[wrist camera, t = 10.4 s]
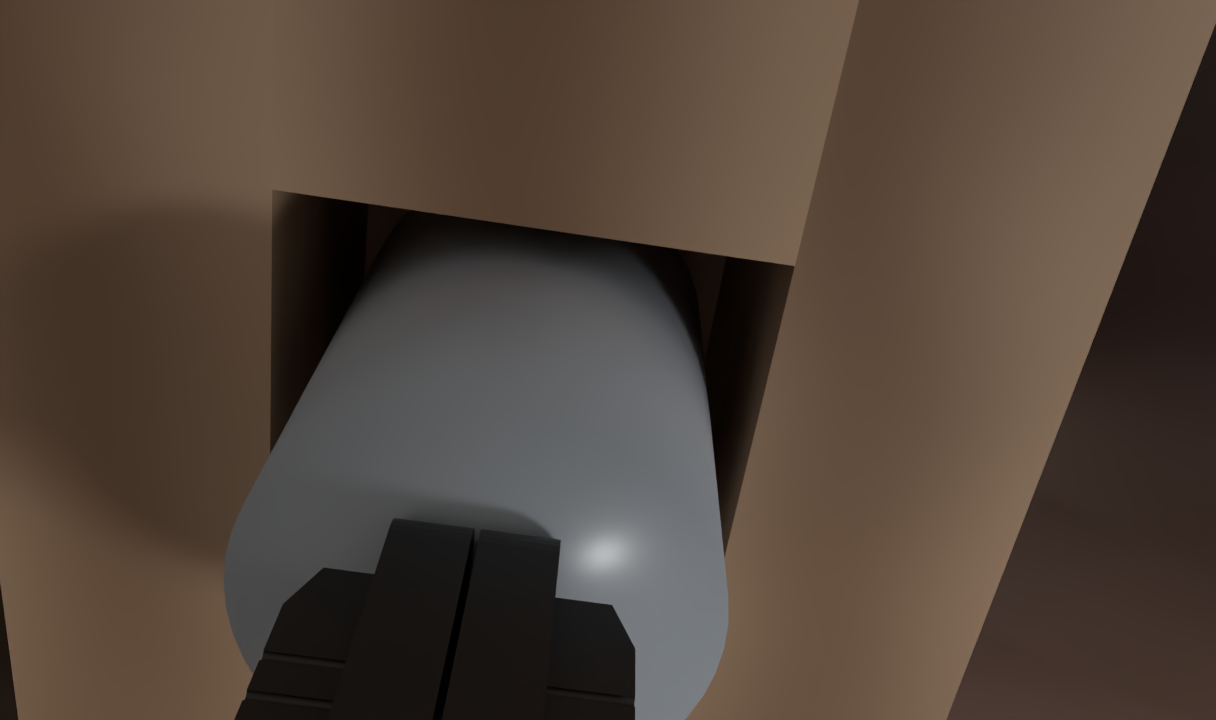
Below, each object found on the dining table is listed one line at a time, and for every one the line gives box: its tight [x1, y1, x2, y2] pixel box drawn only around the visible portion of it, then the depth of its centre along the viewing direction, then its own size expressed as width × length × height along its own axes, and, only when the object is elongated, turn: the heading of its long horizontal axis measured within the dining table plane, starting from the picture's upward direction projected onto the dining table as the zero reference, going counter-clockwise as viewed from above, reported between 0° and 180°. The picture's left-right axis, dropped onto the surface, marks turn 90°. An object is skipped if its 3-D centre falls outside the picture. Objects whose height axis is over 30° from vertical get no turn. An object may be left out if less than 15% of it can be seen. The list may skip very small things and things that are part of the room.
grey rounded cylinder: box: [224, 210, 728, 720], centre depth 13 cm, size 5×5×6 cm
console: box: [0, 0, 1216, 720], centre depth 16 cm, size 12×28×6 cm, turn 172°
